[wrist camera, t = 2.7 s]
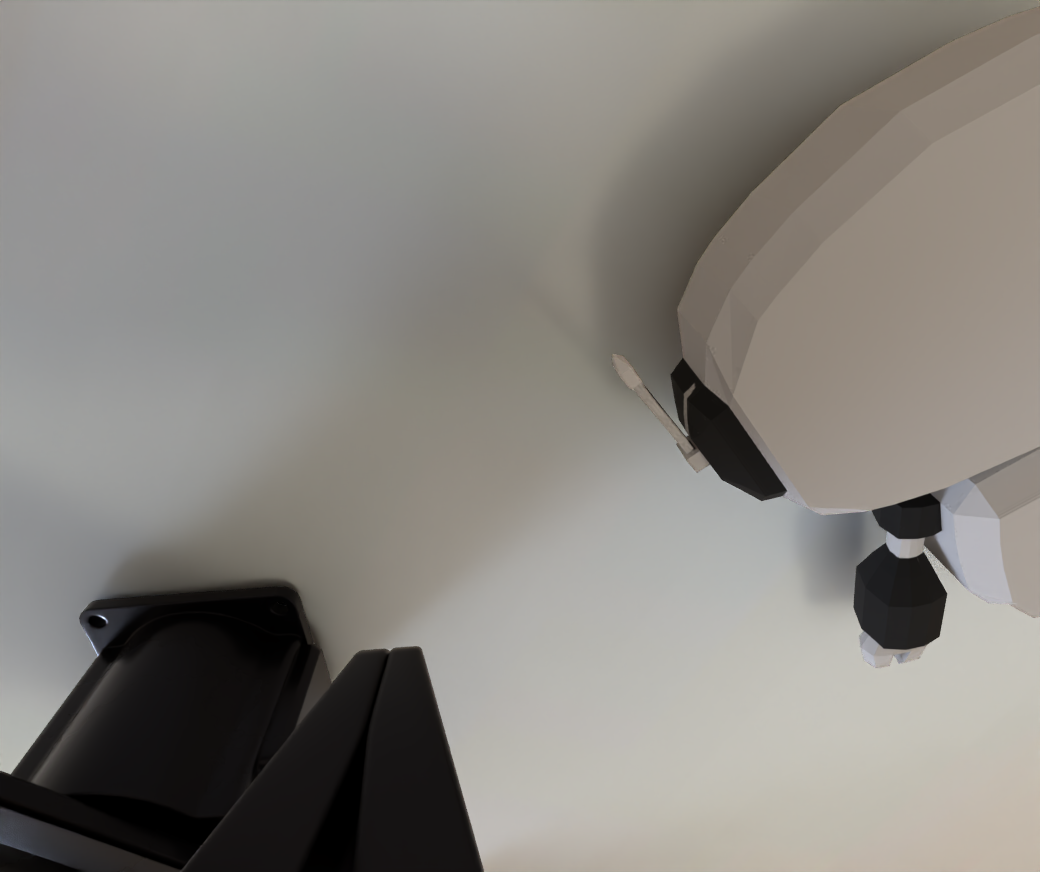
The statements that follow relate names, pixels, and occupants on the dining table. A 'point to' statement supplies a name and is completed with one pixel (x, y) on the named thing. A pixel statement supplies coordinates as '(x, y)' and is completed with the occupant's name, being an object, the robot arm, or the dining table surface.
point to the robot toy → (888, 333)
